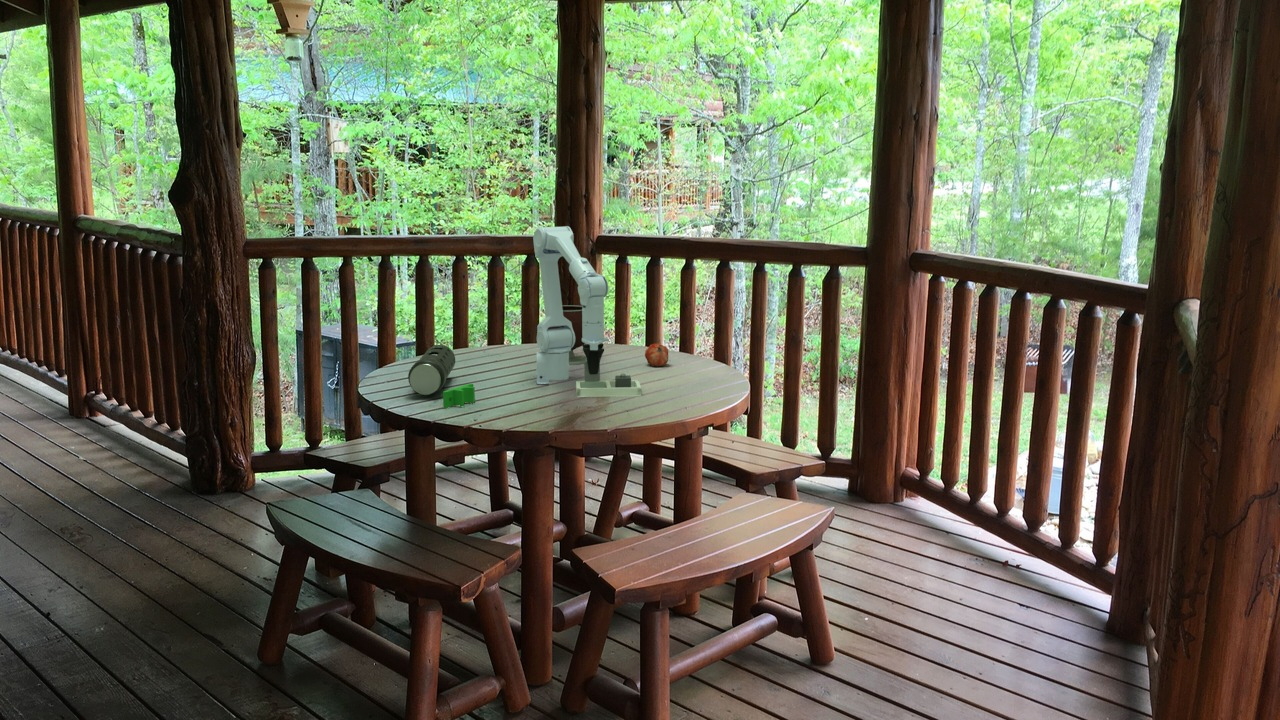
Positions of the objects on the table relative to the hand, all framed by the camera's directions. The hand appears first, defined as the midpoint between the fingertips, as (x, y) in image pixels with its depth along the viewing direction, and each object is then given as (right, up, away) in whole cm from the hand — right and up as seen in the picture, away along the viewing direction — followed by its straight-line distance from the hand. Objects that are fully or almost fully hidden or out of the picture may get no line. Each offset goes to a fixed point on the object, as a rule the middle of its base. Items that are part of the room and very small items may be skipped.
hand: (593, 372), depth 259 cm
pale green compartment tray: (+4, -6, +2) cm, 8 cm away
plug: (+8, -5, +2) cm, 10 cm away
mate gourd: (-11, +3, +50) cm, 51 cm away
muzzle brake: (-45, -5, +10) cm, 46 cm away
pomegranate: (+18, +1, +44) cm, 47 cm away
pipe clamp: (-33, -9, -9) cm, 36 cm away
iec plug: (0, -2, 0) cm, 2 cm away
